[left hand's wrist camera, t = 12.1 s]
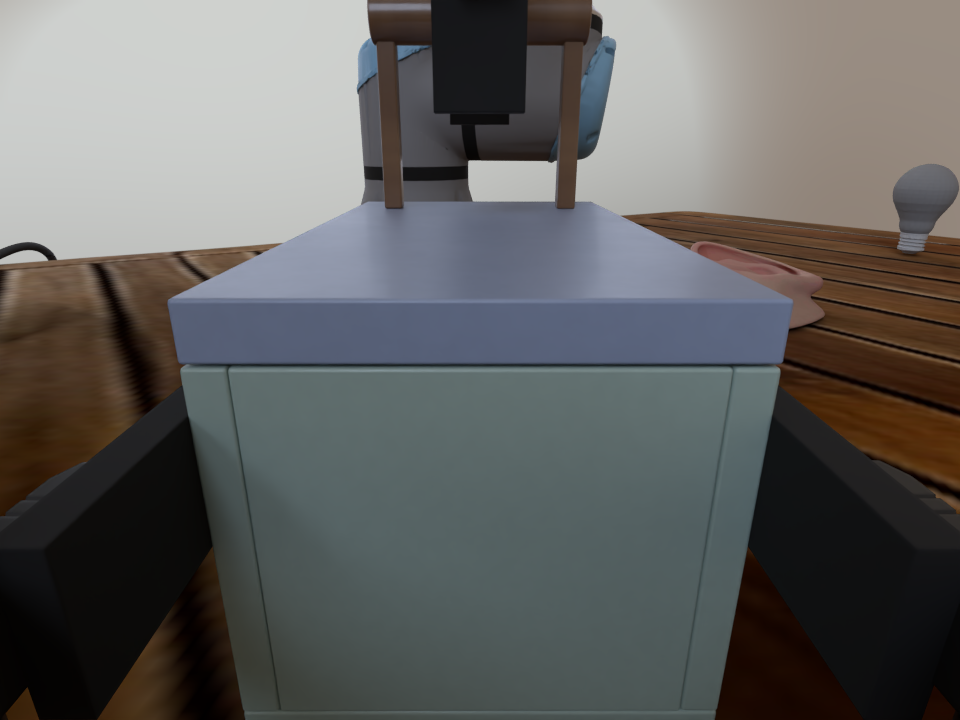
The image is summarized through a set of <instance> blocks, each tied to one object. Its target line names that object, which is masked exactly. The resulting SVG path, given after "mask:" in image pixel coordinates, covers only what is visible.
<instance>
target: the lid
mask: <svg viewBox="0 0 960 720" xmlns="http://www.w3.org/2000/svg"><path fill="white" fill-rule="evenodd" d="M367 8H368V23H369V30H370V36H371V40H372V42H373V44H374V45H375V46H376V50H377V69H378V88H379V107H380V126H381V145H382V163H383V182H384V201H385V202H366V203H364V204H362V205H360V206H358V207H356V208H354V209H352V210H350V211H348V212H346V213H344V214H342V215H340V216H338V217H336V218H334V219H332V220H330V221H328V222H326V223H324V224H321V225H319V226H317V227H315V228H313V229H311V230H309V231H307V232H305V233H303V234H301V235H299V236H297V237H295V238H293V239H291V240H289V241H287V242H285V243H283V244H281V245H279V246H277V247H275V248H272V249H270V250H268V251H266V252H264V253H262V254H260V255H258V256H256V257H254V258H252V259H250V260H248V261H246V262H244V263H242V264H240V265H238V266H236V267H234V268H232V269H230V270H228V271H226V272H223V273H221V274H219V275H217V276H215V277H213V278H211V279H209V280H207V281H205V282H203V283H201V284H199V285H197V286H195V287H193V288H191V289H189V290H187V291H185V292H183V293H181V294H179V295H177V296H174V297H172V298H170V299H169V300H168V308H169V314H170V319H171V325H172V330H173V335H174V341H175V346H176V351H177V357H178V361H179V363H180V364H781V363H782V362H783V357H784V352H785V346H786V341H787V336H788V331H789V325H790V320H791V315H792V309H793V304H794V303H793V300H792V299H790V298H788V297H786V296H784V295H782V294H780V293H778V292H776V291H774V290H772V289H770V288H768V287H766V286H763V285H761V284H759V283H757V282H755V281H753V280H751V279H749V278H747V277H745V276H743V275H741V274H739V273H737V272H735V271H733V270H730V269H728V268H726V267H724V266H722V265H720V264H718V263H716V262H714V261H712V260H710V259H708V258H706V257H704V256H702V255H700V254H697V253H695V252H693V251H691V250H689V249H687V248H685V247H683V246H681V245H679V244H677V243H675V242H673V241H671V240H669V239H667V238H665V237H662V236H660V235H658V234H656V233H654V232H652V231H650V230H648V229H646V228H644V227H642V226H640V225H638V224H636V223H634V222H632V221H629V220H627V219H625V218H623V217H621V216H619V215H617V214H615V213H613V212H611V211H609V210H607V209H605V208H603V207H601V206H599V205H596V204H594V203H592V202H575V190H576V172H577V153H578V135H579V116H580V98H581V80H582V61H583V46H585V45H586V44H587V41H588V38H589V33H590V27H591V18H592V0H528V21H527V46H562V57H561V80H560V103H559V126H558V149H557V172H556V196H555V202H404V191H403V167H402V144H401V120H400V96H399V73H398V49H397V46H432V29H431V0H367Z"/></svg>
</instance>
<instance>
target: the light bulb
mask: <svg viewBox="0 0 960 720" xmlns="http://www.w3.org/2000/svg"><path fill="white" fill-rule="evenodd" d="M958 191H959V185H958V181H957V178H956V176H955V175H954V174H953V172H952V171H951V170H950V169H948V168H946V167H944V166H941V165H937V164H926V165H921V166H918V167H915V168H913V169H911V170H909V171H908V172H907V173H905V174H904V175H903V176H902V177H901V178H900V179H899V180H898V182H897V183H896V185H895V187H894V190H893V202H894V204H895V207H896V209H897V212H898V215H899V218H900V222H899V228H900V231H901V232H900V233H901V234H900V237H901V238H900V239H899V240H901V241H900V242H898V243H899V244H900V245H898V247H897V249H899V250H901V251H903V253H908V254H916V253H918V252H921V251H924V248H923V247H924V243H926V242H925V240H926V239H927V237H928V234H929V233H930V232H931V231H932V229H933V228H934V225H935V223H936V221H937V220H938V218H939V217H940V216H941V215H942V214H943V213H944V212H945V211H946V210H947V209H948V208H949V207H950V206H951V204H952V203H953V202H954V200H955V199H956V197H957V194H958Z"/></svg>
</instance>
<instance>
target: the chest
mask: <svg viewBox="0 0 960 720" xmlns="http://www.w3.org/2000/svg"><path fill="white" fill-rule="evenodd" d="M180 374H181V379H182V385H183V390H184V395H185V401H186V406H187V411H188V417H189V422H190V427H191V433H192V438H193V443H194V449H195V454H196V460H197V465H198V470H199V476H200V481H201V486H202V492H203V497H204V502H205V508H206V513H207V518H208V524H209V529H210V534H211V540H212V545H213V551H214V556H215V561H216V567H217V572H218V577H219V583H220V588H221V593H222V599H223V604H224V609H225V615H226V620H227V626H228V631H229V636H230V642H231V647H232V652H233V658H234V663H235V668H236V674H237V679H238V684H239V690H240V695H241V701H242V706H243V710H245V712H244V713H245V720H715V715H716V709H717V706H718V701H719V695H720V690H721V685H722V679H723V674H724V669H725V663H726V658H727V653H728V648H729V642H730V637H731V632H732V626H733V621H734V616H735V611H736V605H737V600H738V595H739V589H740V584H741V579H742V574H743V568H744V563H745V558H746V552H747V547H748V541H749V536H750V531H751V525H752V520H753V515H754V509H755V504H756V499H757V493H758V488H759V483H760V478H761V472H762V467H763V462H764V456H765V451H766V446H767V440H768V435H769V430H770V424H771V419H772V415H773V409H774V404H775V399H776V394H777V388H778V383H779V378H780V369H779V368H778V367H777V366H775V365H774V364H186V365H185V366H184V367H182V368H181V371H180Z"/></svg>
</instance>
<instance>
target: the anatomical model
mask: <svg viewBox="0 0 960 720" xmlns="http://www.w3.org/2000/svg"><path fill="white" fill-rule="evenodd" d="M690 250H691V251H693V252H695V253H697V254H700V255H702V256H704V257H706V258H708V259H710V260H712V261H714V262H716V263H718V264H720V265H722V266H724V267H726V268H728V269H730V270H733V271H735V272H737V273H739V274H741V275H743V276H745V277H747V278H749V279H751V280H753V281H755V282H757V283H759V284H761V285H763V286H766V287H768V288H770V289H772V290H774V291H776V292H778V293H780V294H782V295H784V296H786V297H788V298H790V299H792V300H793V303H794V304H793V309H792V315H791V320H790V325H789V329H792V328H796V327H800V326H804V325H807V324H810V323H813V322H815V321H817V320H819V319H821V318H823V317H824V315H825V313H824V311H823V310H822V309H821V308H820V307H819V306H818V305H817V304H816V303H815V302H814V301H813V300H812V299H811V295H812V294H814V293H815V292H817V291H818V290H820V289H821V287H822V285H823V279H822V278H821V277H819V276H817V275H814V274H811V273H808V272H805V271H802V270H799V269H797V268H794V267H791V266H789V265H786V264H783V263H781V262H778V261H775V260H772V259H769V258H765V257H762V256H758V255H755V254H752V253H748V252H745V251H742V250H738V249H735V248H732V247H728V246H725V245H721V244H716V243H711V242H697V243H695V244H694V245H693V246H692V247H691V249H690Z"/></svg>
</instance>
